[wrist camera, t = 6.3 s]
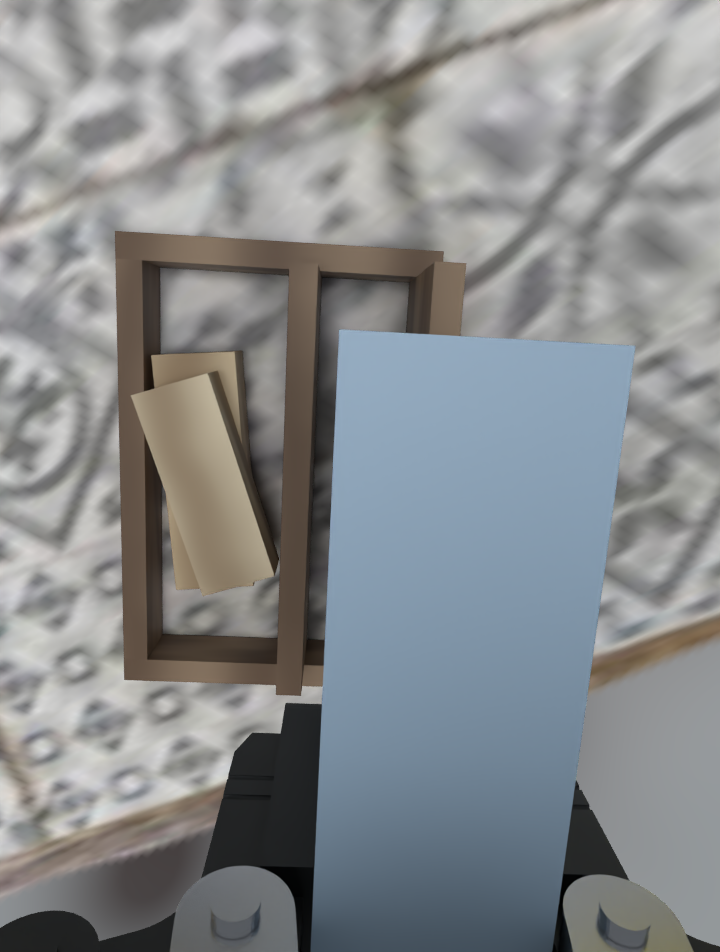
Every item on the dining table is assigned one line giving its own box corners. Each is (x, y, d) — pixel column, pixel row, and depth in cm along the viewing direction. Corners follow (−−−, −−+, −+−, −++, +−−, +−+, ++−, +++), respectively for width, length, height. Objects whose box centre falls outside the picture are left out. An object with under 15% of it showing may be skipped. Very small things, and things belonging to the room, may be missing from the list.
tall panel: (418, 342, 21) (636, 345, 5) (391, 727, 24) (482, 1457, 8) (341, 337, 21) (339, 330, 5) (323, 725, 24) (287, 1460, 8)
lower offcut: (243, 350, 34) (234, 351, 31) (260, 565, 37) (253, 585, 34) (166, 353, 34) (151, 355, 31) (189, 569, 37) (176, 589, 34)
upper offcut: (217, 370, 31) (207, 373, 29) (279, 558, 33) (274, 576, 31) (147, 391, 31) (130, 395, 29) (212, 577, 34) (202, 596, 31)
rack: (434, 259, 33) (469, 229, 24) (404, 662, 38) (424, 760, 29) (135, 241, 32) (59, 204, 24) (141, 652, 37) (79, 750, 28)
